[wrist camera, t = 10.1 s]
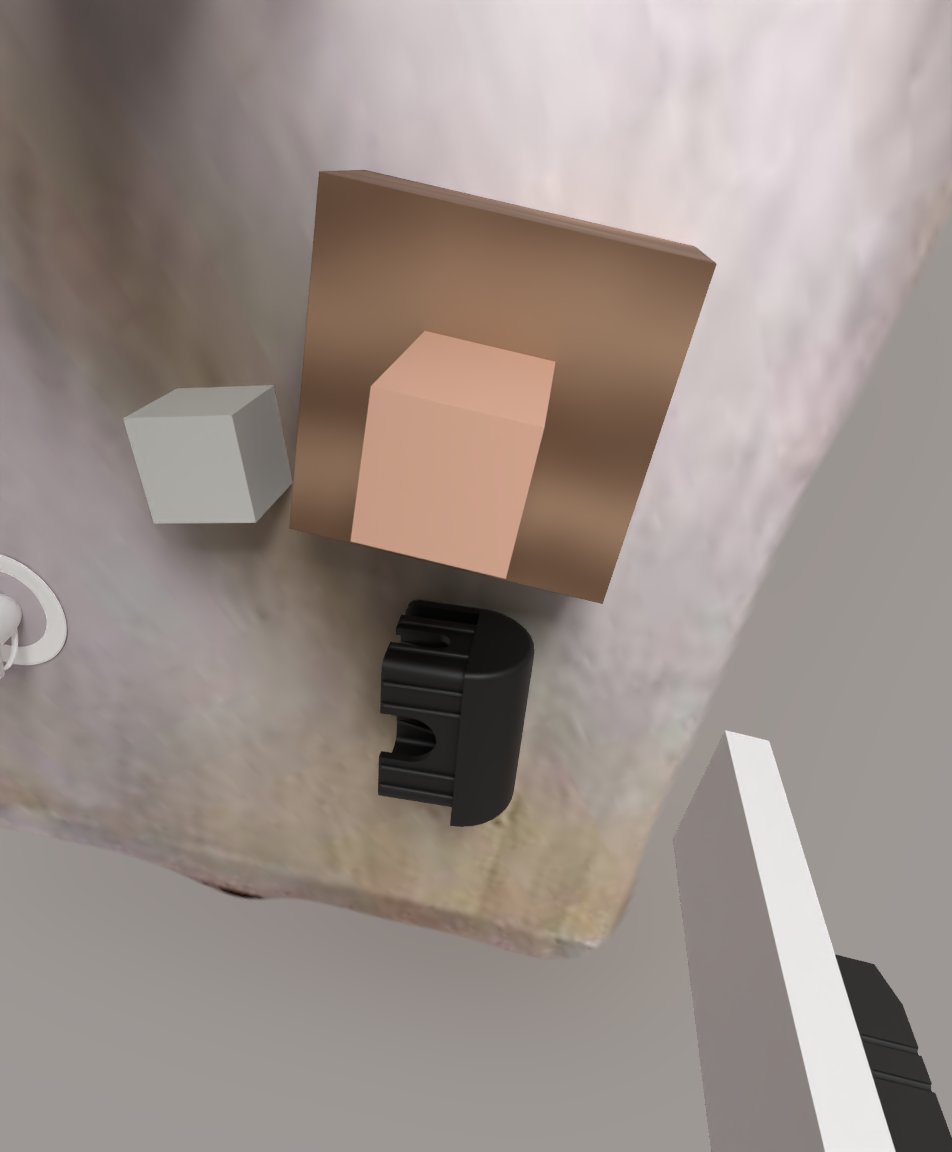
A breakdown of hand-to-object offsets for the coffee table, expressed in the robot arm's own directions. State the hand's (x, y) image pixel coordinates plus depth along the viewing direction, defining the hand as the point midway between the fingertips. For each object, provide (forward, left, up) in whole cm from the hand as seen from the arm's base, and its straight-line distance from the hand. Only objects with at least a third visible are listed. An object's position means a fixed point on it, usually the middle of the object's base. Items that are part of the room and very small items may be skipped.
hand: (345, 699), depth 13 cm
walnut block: (0, 0, -24) cm, 24 cm away
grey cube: (+6, -12, -24) cm, 28 cm away
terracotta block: (0, 0, -18) cm, 18 cm away
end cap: (+17, +2, -25) cm, 30 cm away
